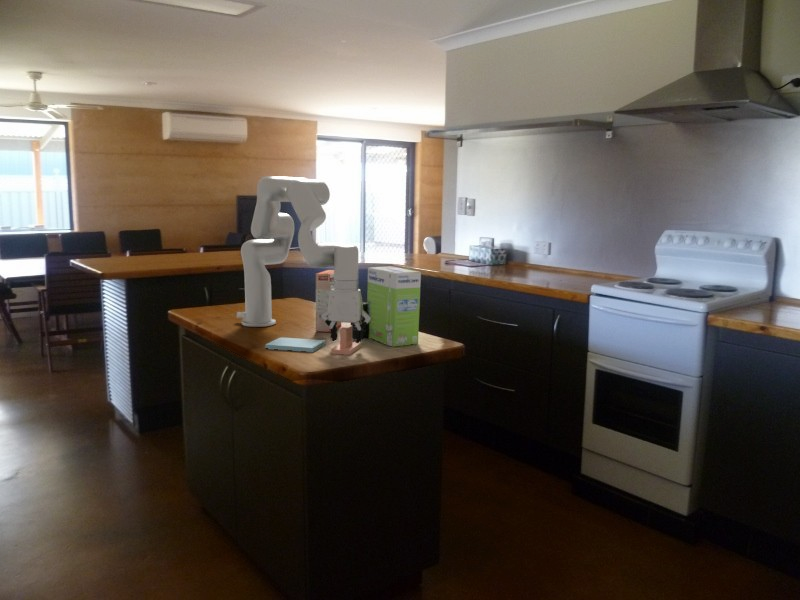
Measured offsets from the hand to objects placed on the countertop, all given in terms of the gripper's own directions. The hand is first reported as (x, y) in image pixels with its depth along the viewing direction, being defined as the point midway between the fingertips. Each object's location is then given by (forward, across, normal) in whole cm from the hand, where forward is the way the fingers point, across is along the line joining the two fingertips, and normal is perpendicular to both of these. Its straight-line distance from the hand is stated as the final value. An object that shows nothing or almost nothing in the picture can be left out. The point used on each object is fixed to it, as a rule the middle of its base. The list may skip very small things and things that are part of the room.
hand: (346, 340), depth 203 cm
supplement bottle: (+3, -1, +19) cm, 19 cm away
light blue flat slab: (+3, -17, 0) cm, 17 cm away
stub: (+3, 0, 0) cm, 3 cm away
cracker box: (+3, -17, +30) cm, 35 cm away
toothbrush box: (+3, +10, +17) cm, 20 cm away
